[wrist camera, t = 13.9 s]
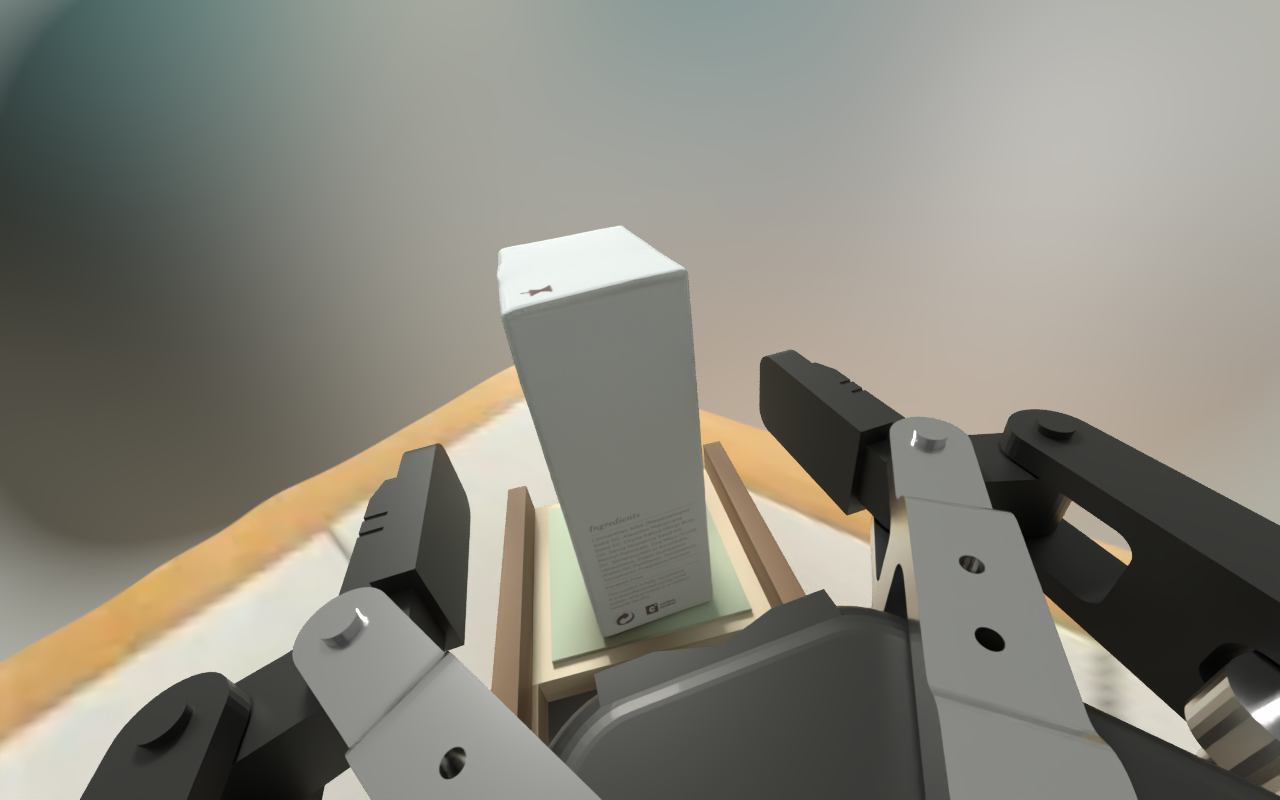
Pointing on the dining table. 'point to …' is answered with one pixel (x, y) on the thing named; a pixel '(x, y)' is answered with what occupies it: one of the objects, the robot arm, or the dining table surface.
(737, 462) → the dining table surface
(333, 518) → the dining table surface
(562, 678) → the board
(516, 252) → the skincare box
